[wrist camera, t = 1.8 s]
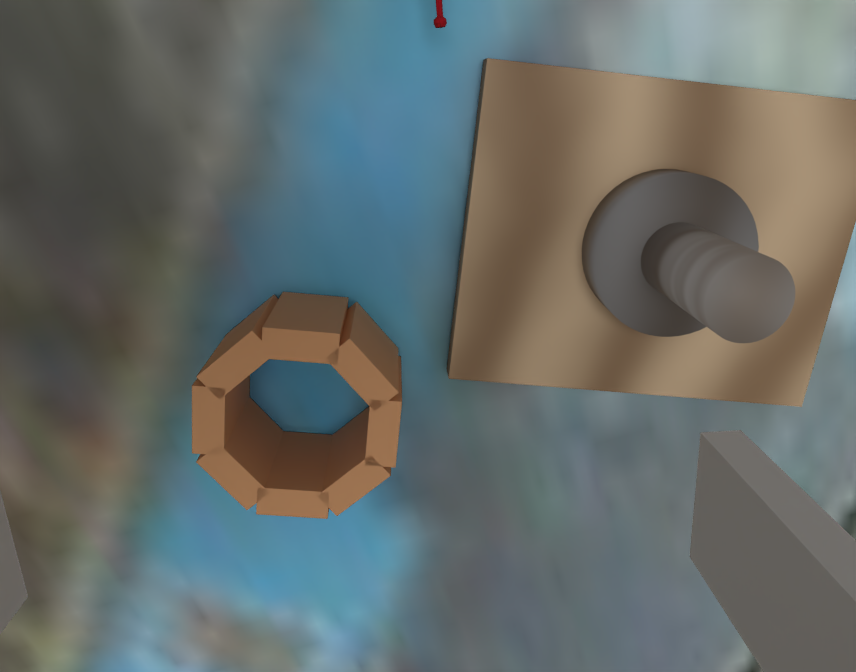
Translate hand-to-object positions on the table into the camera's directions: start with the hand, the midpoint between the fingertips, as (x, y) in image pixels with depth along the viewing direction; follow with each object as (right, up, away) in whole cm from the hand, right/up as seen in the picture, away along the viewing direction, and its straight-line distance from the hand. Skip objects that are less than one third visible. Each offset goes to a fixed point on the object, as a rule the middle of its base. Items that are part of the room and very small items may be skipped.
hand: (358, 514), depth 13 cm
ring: (-4, +1, +18) cm, 19 cm away
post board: (+11, +7, +17) cm, 22 cm away
